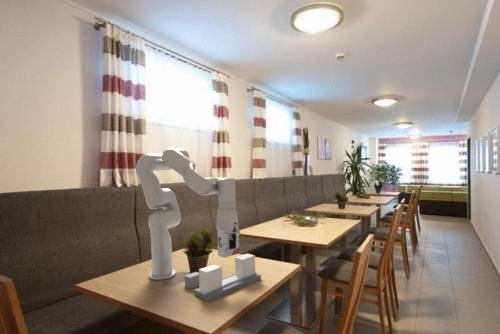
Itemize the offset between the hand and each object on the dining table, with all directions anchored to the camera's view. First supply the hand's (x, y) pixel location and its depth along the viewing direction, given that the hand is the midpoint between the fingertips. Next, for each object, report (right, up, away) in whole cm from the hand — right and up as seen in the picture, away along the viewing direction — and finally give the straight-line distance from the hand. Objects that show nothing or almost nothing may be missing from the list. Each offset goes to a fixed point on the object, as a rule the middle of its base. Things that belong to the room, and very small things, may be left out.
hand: (228, 246), depth 131 cm
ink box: (0, -4, 0) cm, 4 cm away
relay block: (-16, -18, +2) cm, 24 cm away
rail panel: (0, -17, 0) cm, 17 cm away
